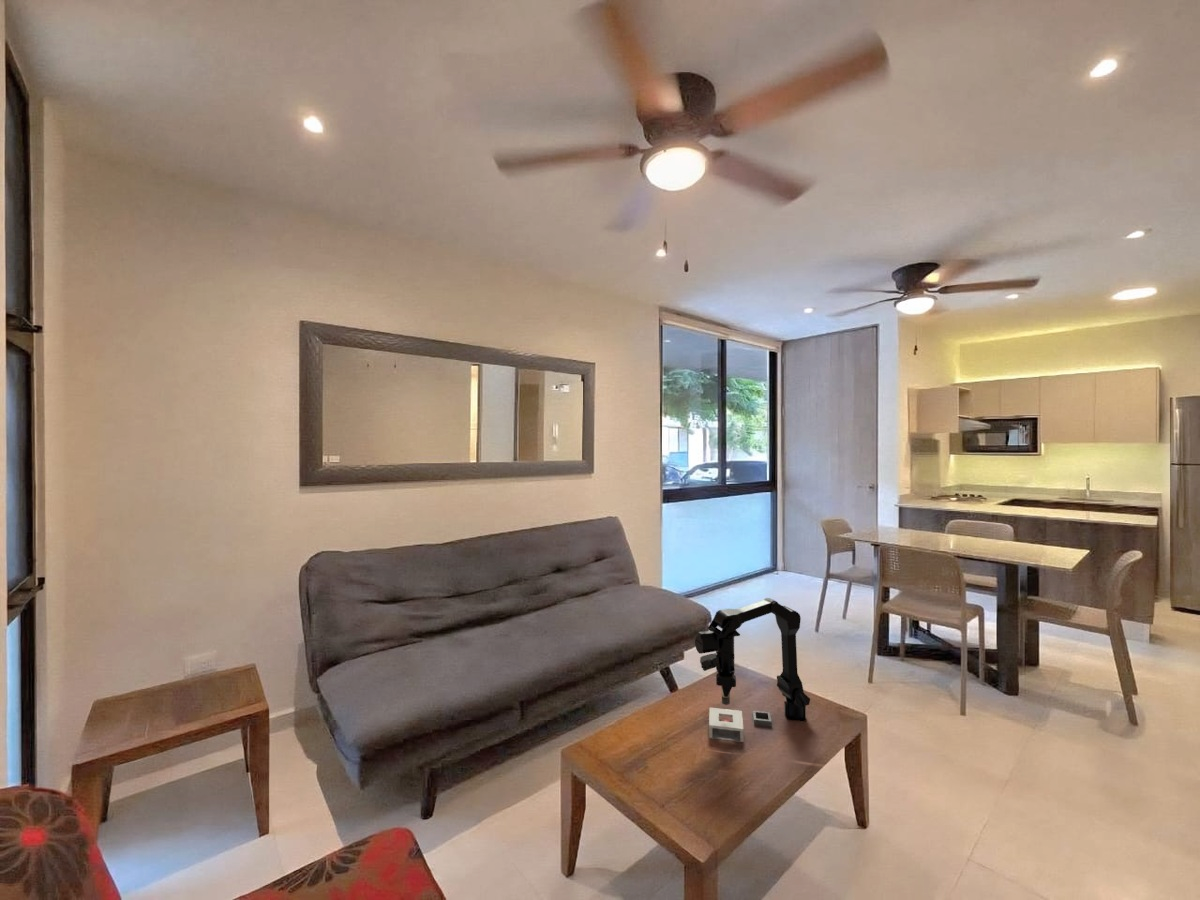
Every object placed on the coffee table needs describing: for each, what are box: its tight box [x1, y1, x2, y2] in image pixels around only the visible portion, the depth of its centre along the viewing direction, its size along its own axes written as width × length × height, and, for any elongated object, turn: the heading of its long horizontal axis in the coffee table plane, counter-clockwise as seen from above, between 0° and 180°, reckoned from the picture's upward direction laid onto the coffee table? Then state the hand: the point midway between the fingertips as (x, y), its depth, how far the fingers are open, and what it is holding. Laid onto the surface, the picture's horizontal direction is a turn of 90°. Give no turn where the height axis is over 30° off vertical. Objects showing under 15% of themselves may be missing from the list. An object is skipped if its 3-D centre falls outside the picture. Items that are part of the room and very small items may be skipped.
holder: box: [752, 710, 773, 728], centre depth 174 cm, size 6×6×2 cm
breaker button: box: [720, 718, 731, 722], centre depth 169 cm, size 3×3×2 cm
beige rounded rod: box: [720, 686, 731, 706], centre depth 169 cm, size 3×3×8 cm
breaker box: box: [708, 707, 744, 743], centre depth 169 cm, size 11×11×5 cm
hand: (725, 694), depth 169 cm, fingers closed on beige rounded rod, 3 cm apart
